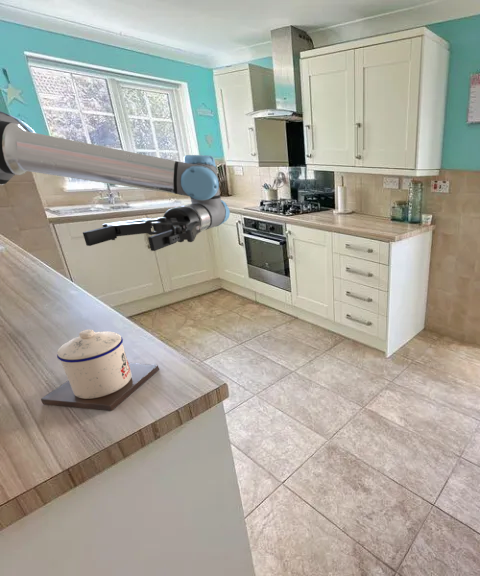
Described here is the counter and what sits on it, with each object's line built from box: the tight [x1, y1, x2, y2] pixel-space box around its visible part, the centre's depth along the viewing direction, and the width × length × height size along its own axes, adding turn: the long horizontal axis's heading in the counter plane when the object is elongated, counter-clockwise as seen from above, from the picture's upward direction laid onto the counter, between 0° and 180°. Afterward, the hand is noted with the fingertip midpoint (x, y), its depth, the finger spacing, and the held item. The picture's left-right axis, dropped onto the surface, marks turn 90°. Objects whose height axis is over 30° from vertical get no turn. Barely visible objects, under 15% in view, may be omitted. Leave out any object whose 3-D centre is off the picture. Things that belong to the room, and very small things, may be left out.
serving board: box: [40, 362, 160, 412], centre depth 64 cm, size 13×12×1 cm
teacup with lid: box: [56, 329, 132, 399], centre depth 61 cm, size 12×9×12 cm
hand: (118, 241), depth 65 cm, fingers open, 13 cm apart
